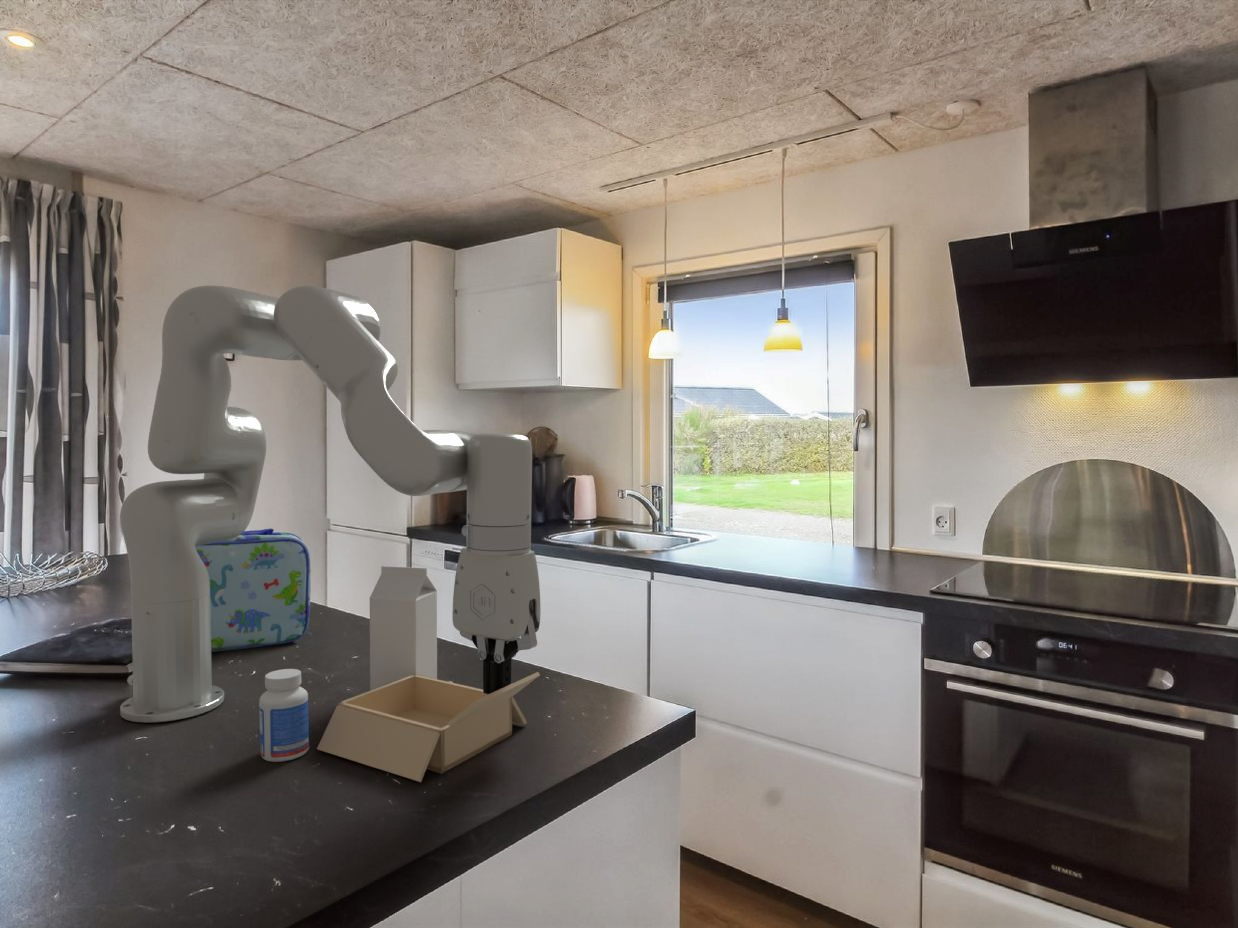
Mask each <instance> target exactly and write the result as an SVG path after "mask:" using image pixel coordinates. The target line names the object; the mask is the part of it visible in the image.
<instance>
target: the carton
mask: <svg viewBox="0 0 1238 928" xmlns="http://www.w3.org/2000/svg"><path fill="white" fill-rule="evenodd" d="M486 695H489V694H485V693H483V688H478V687H473V686H470V685H465V684H462V683H461V684H459V683H456V682H452V681H447V680H444V679H438V678H437V679H434V678H430V677H425V676H421V675H412V676H408V677H406V678H403V679H400V680H398V681H395V682H392V683H390V684H387V685H384V686H382V687H379V688H376V689H374V690H371V691H370V690H369V691H366V692H363V693H361V694H358V695H354V696H353V697H349V698H347V699H345V700H342V701H340V702H338V705H336V706H335V707H336V708H335V710H334V712H333V713H332V716H331V717H330V720H329V722H328V724H327V727H326V728H325V730H324V733H323V735H322V737H321V739H320V741H319V743H318V746H317V747H316V750H318V751H320V752H321V751H322V752H324V753H328V754H331V755H334V756H336V757H337V756H338V757H339V758H344V759H345V760H349V761H353V762H356V763H359V764H362V765H365V766H368V767H371V768H374V769H378V770H381V771H384V772H388V773H391V774H394V775H396V776H400V777H403V778H407V779H409V780H413V781H415V782H418V783H422V781H423V778H424V776H425V772H426V771H427V770H428V771H432V772H435V773H439V774H441V775H443V773H446V772H447V771H449V770H450V769H453V768H455V767H457V766H458V765H460V764H462V763H464V762H465V761H468V760H469V759H471V758H473V757H475V756H476V755H478V754H480V753H482V752H484V751H485V750H487V749H489V748H491V747H493V746H494V745H496V744H497V743H500V742H502V741H503V740H506V739H507V738H508V737H511V736H513V723H515V724H519V725H523V726H525V725H526V724H528V722H527V720H526V718H525V716H524V714H523V713H522V710H521V709H520V707H519V705H518V703H517V702H516V700H515V698H514V696H512V697H510V698H508V699H506V700H504V701H502V702H500V703H498V704H496V705H494V706H492V707H490V708H488V709H486V710H483V711H481V712H479V713H477V714H475V715H473V716H471V717H469V718H467V719H465V720H463V721H461V722H459V723H457V724H454V725H452V726H449V724H448V722H449V721H451V720H452V719H453V718H454V717H456V716H457V715H458V714H460V713H461V712H462V711H463V710H465V709H466V708H467V707H468V706H470V705H471V704H472V703H473V702H475V701H476V700H478V699H480V698H482V697H484V696H486Z"/></svg>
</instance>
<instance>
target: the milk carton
mask: <svg viewBox="0 0 1238 928" xmlns="http://www.w3.org/2000/svg"><path fill="white" fill-rule="evenodd" d="M380 567H381V568H380V569H381V571H380V575H379V577H378V580H377V582H376V584H375V585H374V587H373V590H372V592H371V594H370V597H369V691H371V690H374V689H376V688H379V687H382V686H384V685H387V684H390V683H392V682H395V681H398V680H400V679H403V678H406V677H408V676H412V675H421V676H425V677H430V678H434V679H438V594H437V593H438V592H437V591H438V590H437V589H436V587H435V586H434V584H433V582H432V581H431V580H430V578H429V576H428V573H427V571H428V570H427V569H428V568H427V567H426V568H425V567H408V566H388V565H382V566H380Z"/></svg>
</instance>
